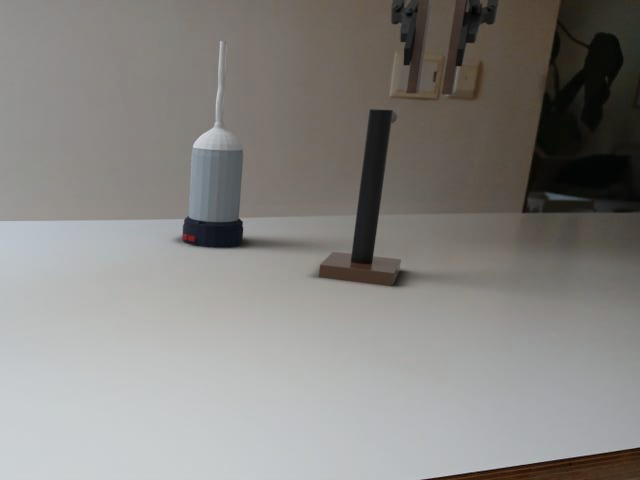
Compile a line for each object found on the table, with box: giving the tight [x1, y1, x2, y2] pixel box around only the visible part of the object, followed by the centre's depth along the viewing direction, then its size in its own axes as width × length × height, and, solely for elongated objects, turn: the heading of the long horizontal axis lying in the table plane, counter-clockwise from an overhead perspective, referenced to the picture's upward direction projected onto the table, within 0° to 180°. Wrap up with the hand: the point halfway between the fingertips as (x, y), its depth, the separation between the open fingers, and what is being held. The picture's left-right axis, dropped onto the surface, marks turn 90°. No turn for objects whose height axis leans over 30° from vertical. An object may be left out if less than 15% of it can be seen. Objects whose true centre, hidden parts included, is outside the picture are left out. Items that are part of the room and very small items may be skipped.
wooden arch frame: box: [405, 0, 468, 96], centre depth 96 cm, size 6×4×13 cm
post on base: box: [318, 108, 402, 287], centre depth 85 cm, size 8×14×18 cm, turn 157°
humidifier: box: [182, 40, 244, 249], centre depth 96 cm, size 8×8×25 cm
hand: (433, 57), depth 93 cm, fingers closed on wooden arch frame, 6 cm apart
